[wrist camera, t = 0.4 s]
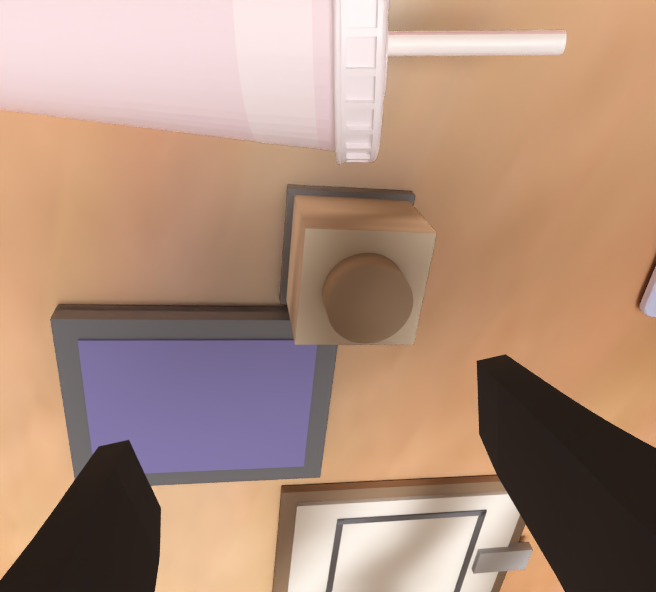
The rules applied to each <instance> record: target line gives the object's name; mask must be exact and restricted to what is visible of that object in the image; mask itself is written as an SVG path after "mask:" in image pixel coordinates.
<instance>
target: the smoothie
mask: <svg viewBox="0 0 656 592" xmlns="http://www.w3.org/2000/svg"><path fill="white" fill-rule="evenodd" d="M388 12H389V0H0V110H5V111H13V112H21V113H29V114H37V115H45V116H53V117H61V118H69V119H77V120H85V121H94V122H102V123H110V124H118V125H126V126H134V127H142V128H150V129H158V130H166V131H174V132H182V133H190V134H198V135H206V136H214V137H222V138H231V139H239V140H247V141H255V142H259V143H267V144H277V145H286V146H295V147H305V148H314V149H320V150H327V151H335V152H336V160H337V164H339V165H341V164H342V163H343V162H374V161H375V160H376V158H377V156H378V152H379V147H380V139H381V129H382V117H383V102H384V95H385V89H386V79H387V64H388V56H524V55H562V53H563V52H564V49H565V46H566V39H567V35H566V31H565V30H456V31H388Z"/></svg>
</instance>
